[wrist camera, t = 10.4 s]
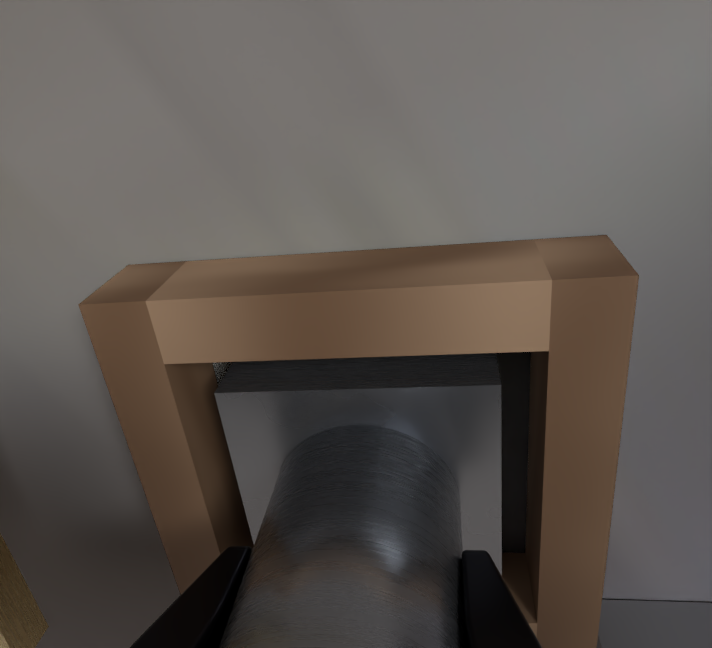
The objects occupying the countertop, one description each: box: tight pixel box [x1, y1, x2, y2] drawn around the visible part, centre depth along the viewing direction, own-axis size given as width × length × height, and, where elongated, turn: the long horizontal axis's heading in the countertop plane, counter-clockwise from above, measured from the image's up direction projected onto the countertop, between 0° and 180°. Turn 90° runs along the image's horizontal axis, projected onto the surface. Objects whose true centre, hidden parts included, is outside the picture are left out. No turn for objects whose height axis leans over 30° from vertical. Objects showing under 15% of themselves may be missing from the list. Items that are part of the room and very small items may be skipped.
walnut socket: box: [79, 235, 639, 648], centre depth 12 cm, size 9×9×2 cm
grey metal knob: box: [214, 353, 502, 648], centre depth 9 cm, size 5×5×8 cm
